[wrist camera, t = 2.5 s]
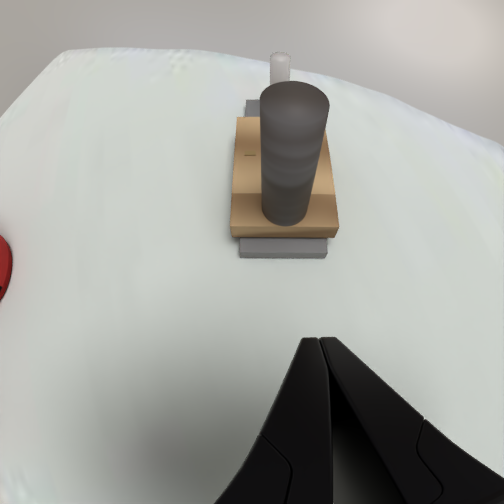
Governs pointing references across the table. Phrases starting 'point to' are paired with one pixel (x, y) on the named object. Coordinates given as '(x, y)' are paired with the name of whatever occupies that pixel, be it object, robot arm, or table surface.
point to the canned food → (4, 265)
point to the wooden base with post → (284, 167)
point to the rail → (279, 245)
